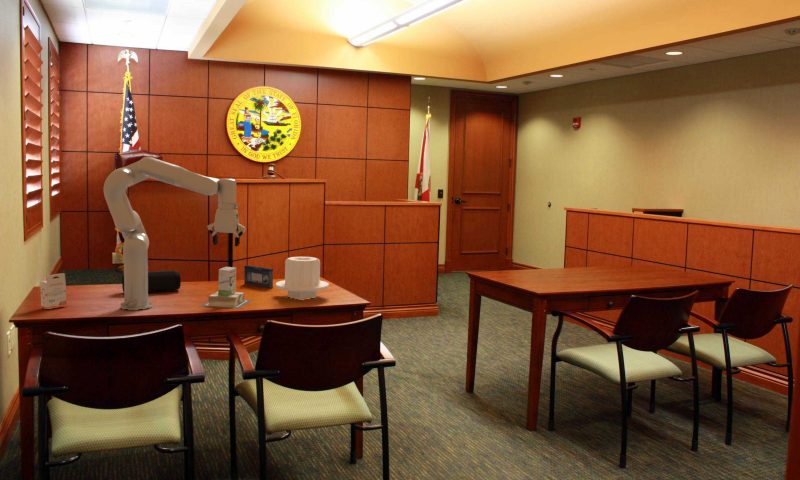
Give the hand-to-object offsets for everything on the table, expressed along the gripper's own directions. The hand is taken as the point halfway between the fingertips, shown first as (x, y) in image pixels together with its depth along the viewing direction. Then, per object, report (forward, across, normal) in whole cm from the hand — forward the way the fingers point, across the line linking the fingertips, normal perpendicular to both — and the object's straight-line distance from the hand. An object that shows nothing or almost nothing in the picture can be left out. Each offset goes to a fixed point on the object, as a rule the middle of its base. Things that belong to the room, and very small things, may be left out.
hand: (226, 245), depth 298 cm
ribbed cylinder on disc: (+27, -29, -25) cm, 47 cm away
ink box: (+22, -1, 0) cm, 22 cm away
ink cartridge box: (+28, +66, +23) cm, 76 cm away
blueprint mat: (+27, -1, 0) cm, 27 cm away
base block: (+26, -1, 0) cm, 26 cm away
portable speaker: (+28, +44, -20) cm, 56 cm away
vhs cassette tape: (+27, 0, -48) cm, 55 cm away
